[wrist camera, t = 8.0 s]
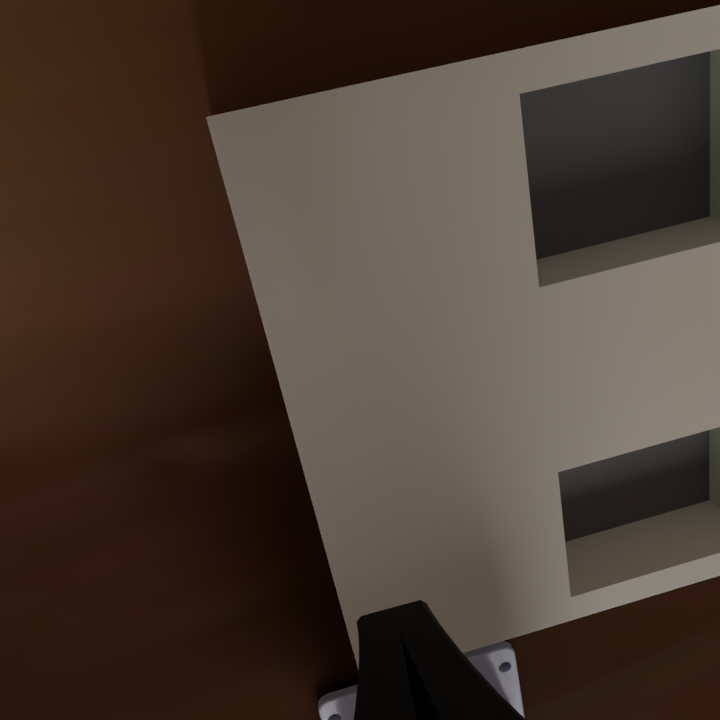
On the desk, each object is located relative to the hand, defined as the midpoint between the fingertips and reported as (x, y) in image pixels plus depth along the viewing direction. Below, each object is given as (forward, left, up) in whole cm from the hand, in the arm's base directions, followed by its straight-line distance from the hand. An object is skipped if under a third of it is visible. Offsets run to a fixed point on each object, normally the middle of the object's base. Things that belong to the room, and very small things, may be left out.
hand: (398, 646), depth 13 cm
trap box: (+1, -10, -9) cm, 14 cm away
